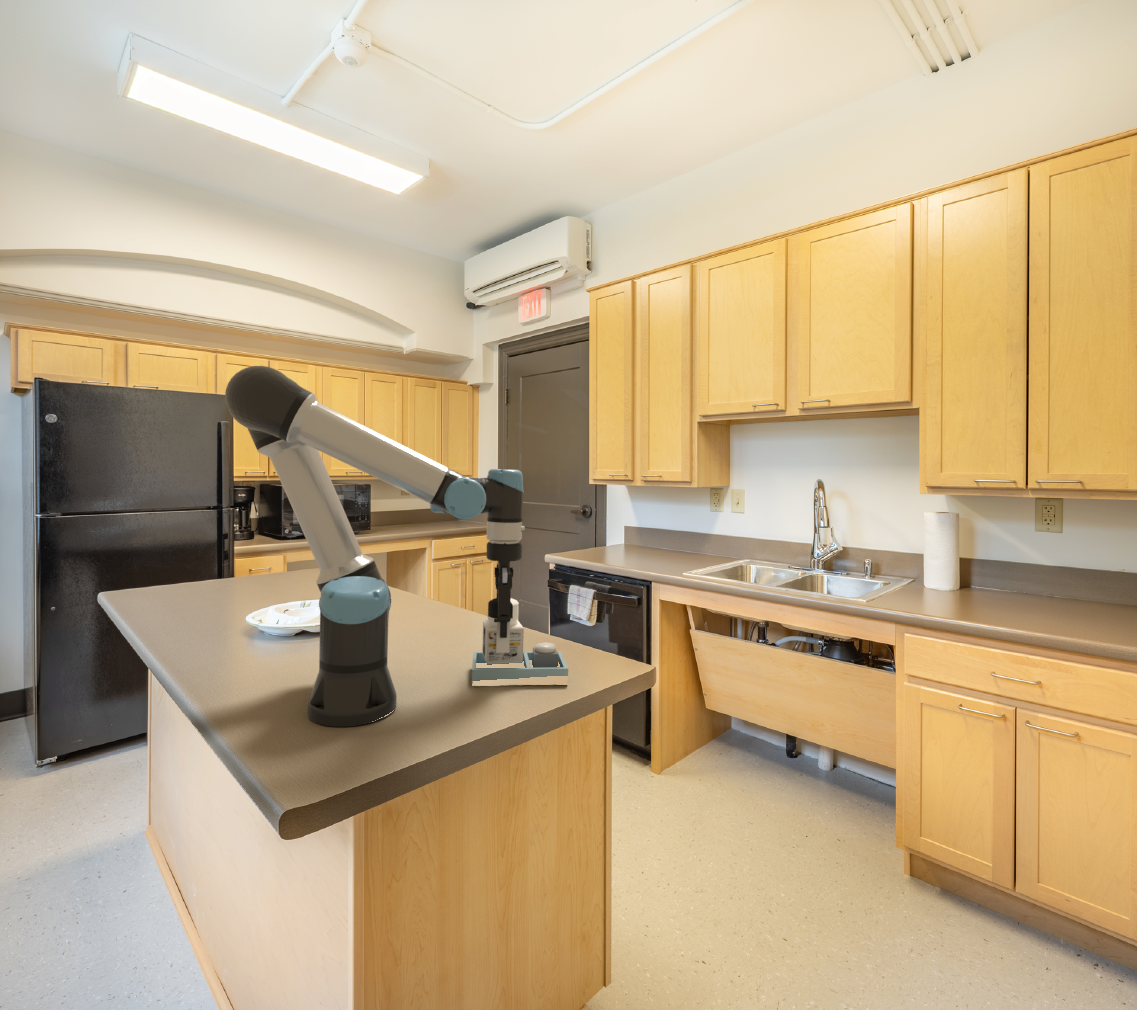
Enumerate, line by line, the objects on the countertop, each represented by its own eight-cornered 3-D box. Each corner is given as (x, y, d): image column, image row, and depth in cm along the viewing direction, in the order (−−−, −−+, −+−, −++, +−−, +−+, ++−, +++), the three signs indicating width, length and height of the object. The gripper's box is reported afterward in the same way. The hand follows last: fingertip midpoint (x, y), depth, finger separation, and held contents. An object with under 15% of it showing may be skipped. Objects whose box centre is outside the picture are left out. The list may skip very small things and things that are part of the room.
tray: (471, 686, 122) (472, 654, 122) (472, 667, 134) (473, 638, 134) (567, 685, 125) (568, 653, 124) (560, 666, 137) (561, 637, 136)
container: (486, 665, 124) (488, 603, 123) (482, 654, 131) (483, 596, 131) (523, 663, 126) (524, 602, 125) (516, 652, 133) (518, 595, 133)
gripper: (525, 547, 118) (522, 660, 119) (519, 536, 138) (516, 633, 139) (487, 547, 116) (484, 661, 118) (486, 535, 137) (484, 633, 138)
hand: (502, 646), depth 129 cm, fingers closed on container, 8 cm apart
